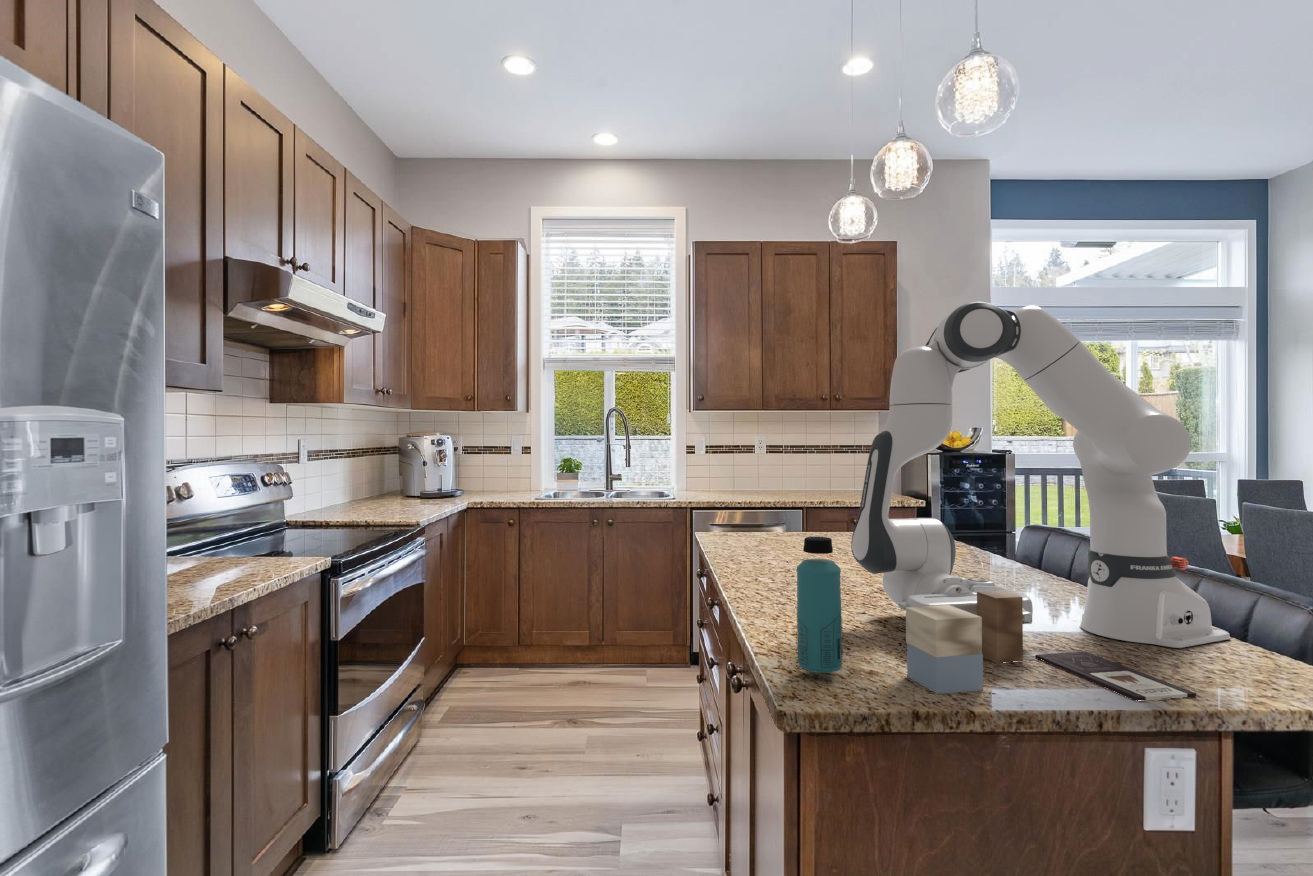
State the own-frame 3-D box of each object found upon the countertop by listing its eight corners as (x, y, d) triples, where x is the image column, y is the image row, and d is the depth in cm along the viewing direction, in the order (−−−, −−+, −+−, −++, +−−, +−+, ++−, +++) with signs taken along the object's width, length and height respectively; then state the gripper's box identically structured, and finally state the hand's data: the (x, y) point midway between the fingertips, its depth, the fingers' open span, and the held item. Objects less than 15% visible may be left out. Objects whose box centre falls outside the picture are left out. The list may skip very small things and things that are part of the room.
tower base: (950, 673, 97) (950, 639, 97) (983, 691, 90) (982, 654, 90) (907, 677, 95) (907, 642, 95) (936, 694, 88) (936, 657, 89)
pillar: (1002, 653, 106) (1001, 590, 106) (1022, 662, 101) (1022, 596, 102) (977, 654, 105) (976, 591, 105) (996, 664, 101) (996, 598, 101)
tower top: (949, 639, 97) (948, 605, 97) (981, 653, 90) (981, 617, 90) (906, 642, 95) (905, 607, 95) (936, 657, 89) (935, 619, 89)
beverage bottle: (844, 685, 92) (844, 540, 92) (795, 682, 93) (795, 539, 93) (841, 669, 98) (840, 534, 98) (795, 666, 99) (795, 533, 100)
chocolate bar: (1085, 651, 105) (1195, 693, 87) (1085, 657, 105) (1196, 700, 87) (1035, 654, 103) (1136, 697, 86) (1035, 660, 103) (1137, 705, 86)
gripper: (892, 584, 115) (941, 603, 101) (997, 580, 118) (1057, 597, 105) (892, 621, 114) (941, 644, 101) (997, 615, 118) (1058, 637, 105)
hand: (1001, 620), depth 103 cm, fingers open, 8 cm apart
